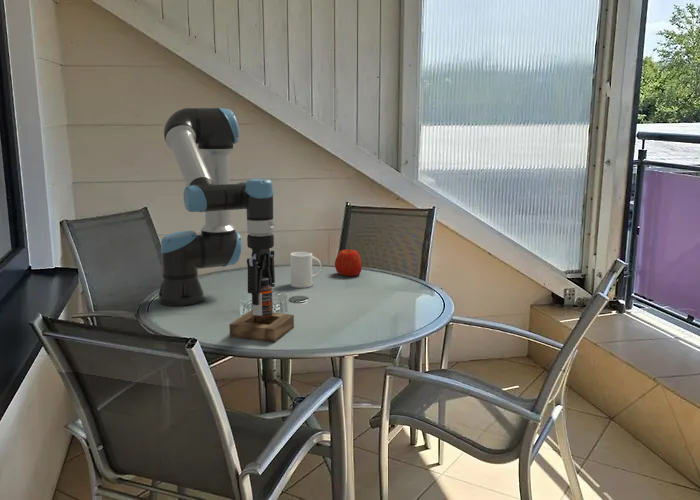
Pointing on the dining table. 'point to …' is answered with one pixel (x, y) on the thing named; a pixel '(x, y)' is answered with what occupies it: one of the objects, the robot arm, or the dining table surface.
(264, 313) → the supplement bottle
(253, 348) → the dining table surface
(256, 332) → the holder block
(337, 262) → the apple
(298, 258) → the mug
